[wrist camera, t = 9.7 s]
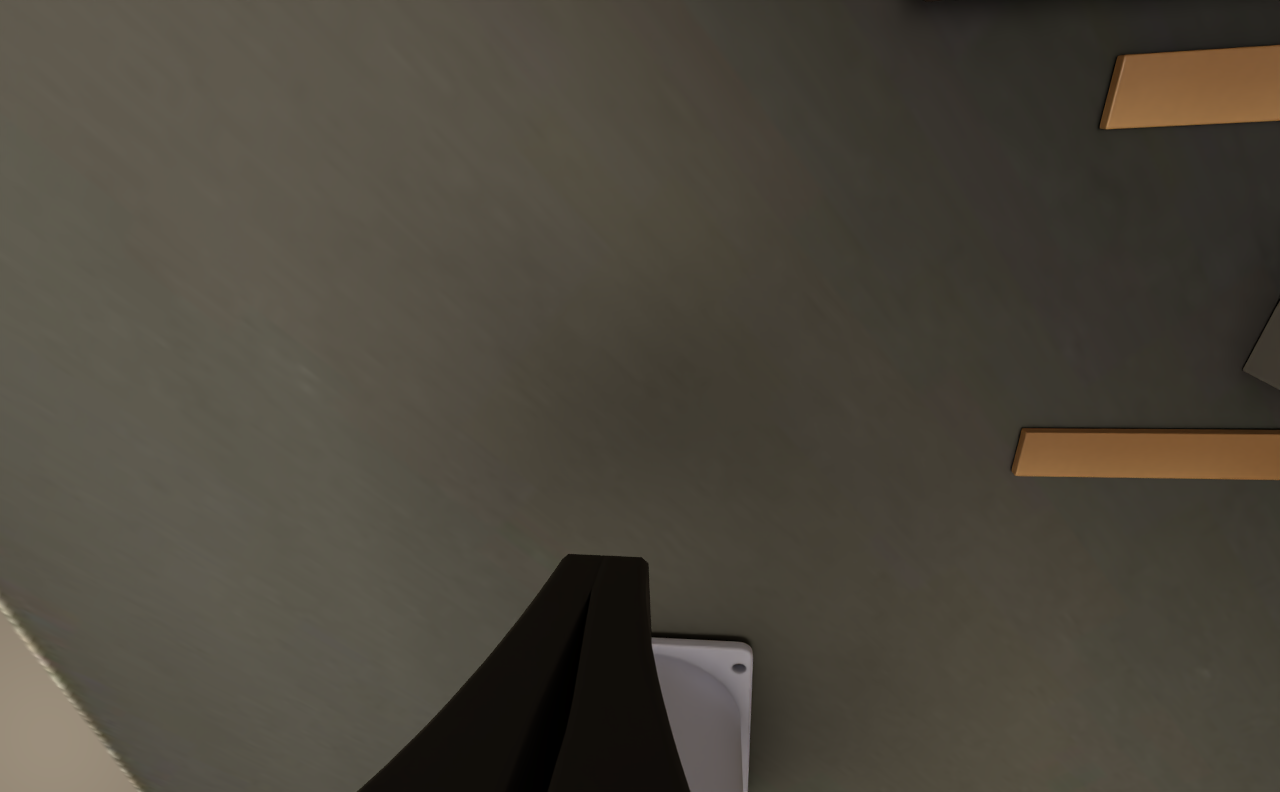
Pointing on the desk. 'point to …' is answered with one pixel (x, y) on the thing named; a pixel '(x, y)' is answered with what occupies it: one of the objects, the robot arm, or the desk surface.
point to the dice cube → (1267, 353)
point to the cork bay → (1158, 98)
